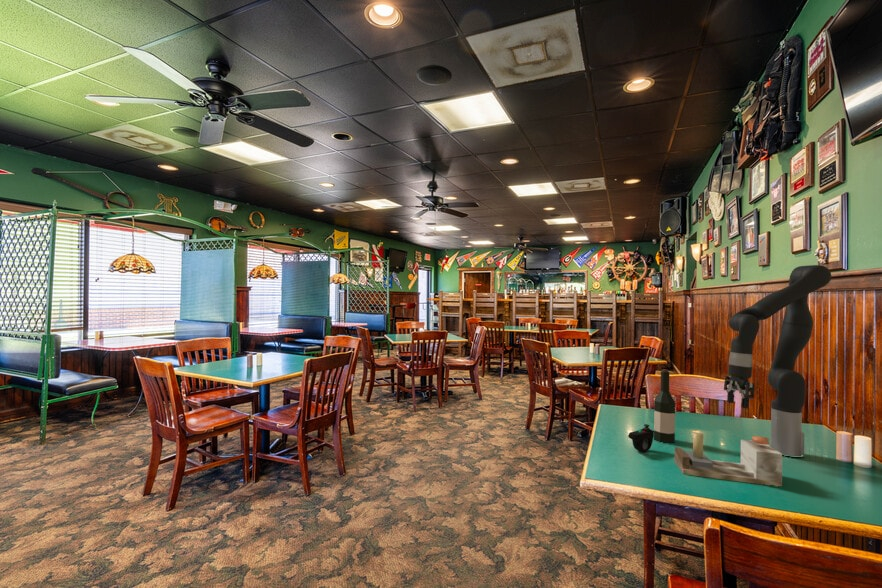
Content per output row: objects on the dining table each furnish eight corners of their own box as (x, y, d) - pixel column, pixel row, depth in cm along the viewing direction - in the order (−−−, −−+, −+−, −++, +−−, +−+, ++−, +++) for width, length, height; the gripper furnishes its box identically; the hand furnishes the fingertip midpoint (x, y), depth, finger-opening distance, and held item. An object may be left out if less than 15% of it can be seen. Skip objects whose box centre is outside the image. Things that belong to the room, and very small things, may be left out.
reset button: (765, 440, 137) (765, 436, 137) (771, 445, 133) (771, 441, 133) (750, 439, 138) (750, 435, 138) (755, 443, 134) (755, 439, 134)
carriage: (702, 457, 145) (703, 430, 145) (712, 468, 135) (713, 439, 135) (684, 455, 147) (684, 428, 147) (692, 465, 137) (692, 437, 137)
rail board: (763, 472, 140) (764, 441, 140) (782, 487, 129) (782, 454, 129) (673, 460, 148) (674, 432, 148) (683, 474, 137) (683, 443, 137)
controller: (655, 450, 158) (656, 425, 158) (636, 456, 152) (637, 429, 152) (645, 447, 162) (645, 422, 162) (626, 452, 156) (626, 426, 156)
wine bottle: (669, 437, 174) (670, 368, 175) (679, 444, 166) (680, 371, 167) (649, 436, 175) (650, 367, 176) (658, 443, 167) (659, 371, 167)
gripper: (763, 368, 151) (760, 411, 151) (738, 362, 166) (735, 401, 165) (742, 366, 152) (739, 409, 152) (719, 360, 166) (716, 399, 166)
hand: (737, 405), depth 159 cm, fingers open, 8 cm apart
